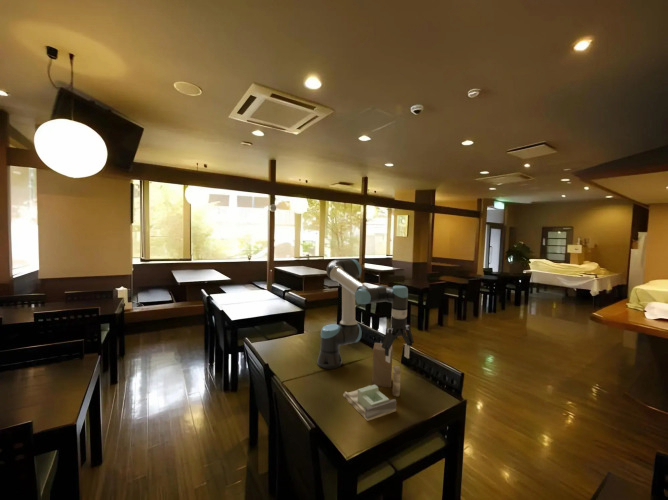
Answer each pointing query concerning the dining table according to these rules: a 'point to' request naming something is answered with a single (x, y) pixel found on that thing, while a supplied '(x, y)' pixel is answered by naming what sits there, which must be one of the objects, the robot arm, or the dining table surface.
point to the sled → (370, 396)
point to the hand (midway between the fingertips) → (397, 359)
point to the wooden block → (381, 367)
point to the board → (373, 410)
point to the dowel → (396, 381)
